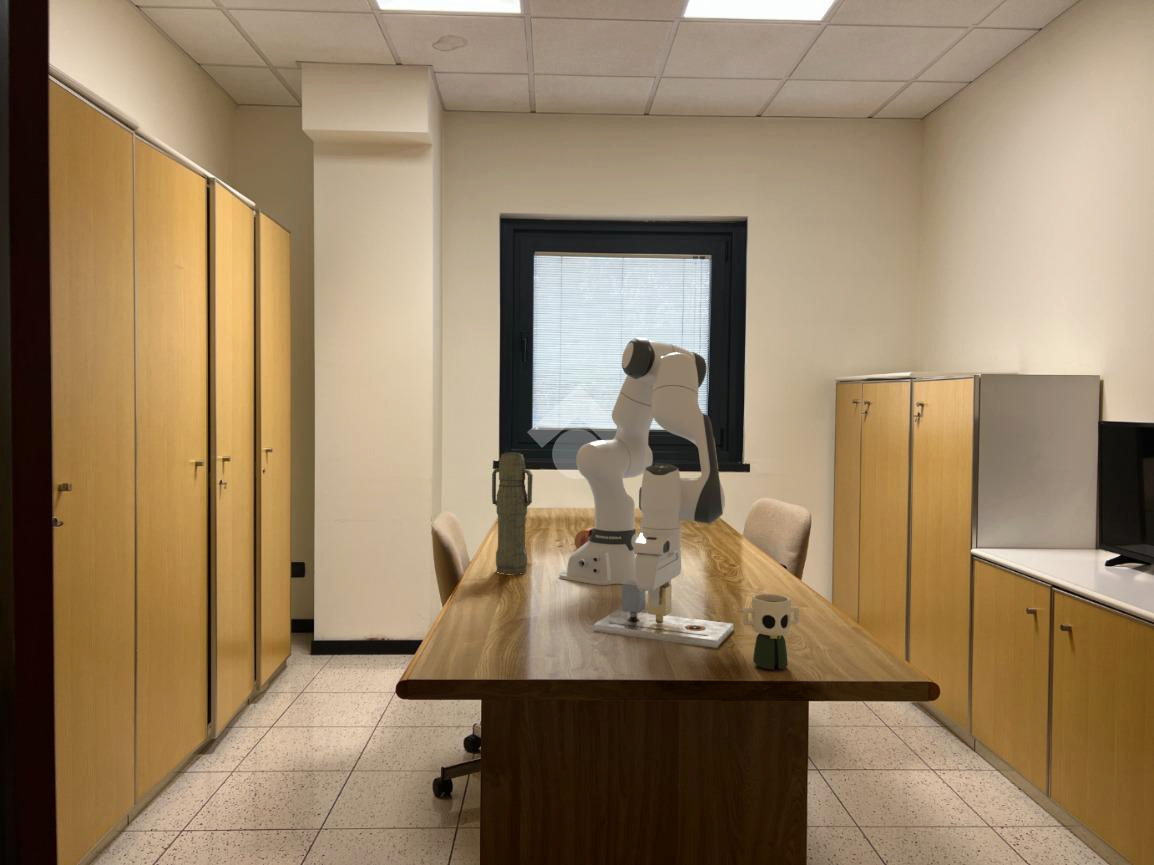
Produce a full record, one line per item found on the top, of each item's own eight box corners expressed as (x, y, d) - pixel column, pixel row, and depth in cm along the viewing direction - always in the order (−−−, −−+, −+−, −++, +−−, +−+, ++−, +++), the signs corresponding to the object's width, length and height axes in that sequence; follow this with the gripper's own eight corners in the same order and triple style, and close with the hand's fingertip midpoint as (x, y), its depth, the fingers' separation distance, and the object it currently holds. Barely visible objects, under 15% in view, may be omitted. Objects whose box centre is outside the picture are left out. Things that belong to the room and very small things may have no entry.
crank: (574, 553, 265) (574, 529, 264) (583, 549, 272) (583, 526, 272) (631, 557, 257) (631, 533, 257) (639, 553, 265) (639, 530, 264)
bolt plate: (593, 631, 171) (594, 586, 171) (617, 616, 184) (618, 573, 183) (716, 647, 160) (717, 599, 160) (733, 630, 173) (733, 585, 172)
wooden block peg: (647, 623, 171) (648, 586, 171) (653, 618, 175) (654, 582, 175) (665, 625, 170) (665, 588, 169) (671, 620, 173) (671, 584, 173)
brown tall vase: (528, 577, 224) (529, 454, 223) (488, 576, 226) (488, 453, 225) (534, 571, 233) (535, 452, 232) (495, 569, 235) (496, 451, 234)
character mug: (748, 674, 144) (749, 603, 144) (735, 661, 151) (736, 593, 151) (805, 672, 146) (807, 601, 145) (790, 659, 153) (791, 592, 152)
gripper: (661, 532, 182) (661, 591, 183) (630, 545, 164) (629, 612, 164) (688, 534, 180) (687, 594, 180) (659, 548, 161) (658, 615, 162)
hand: (659, 603), depth 172 cm, fingers closed on wooden block peg, 4 cm apart
